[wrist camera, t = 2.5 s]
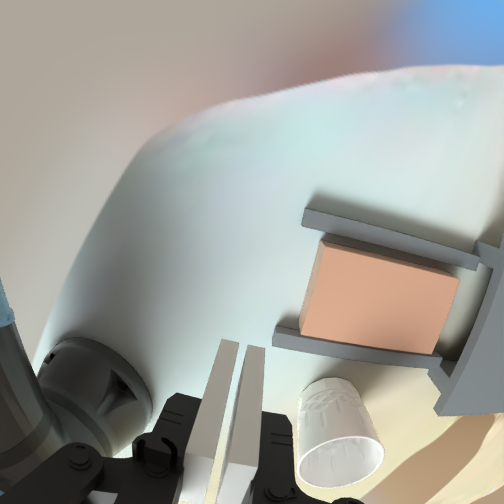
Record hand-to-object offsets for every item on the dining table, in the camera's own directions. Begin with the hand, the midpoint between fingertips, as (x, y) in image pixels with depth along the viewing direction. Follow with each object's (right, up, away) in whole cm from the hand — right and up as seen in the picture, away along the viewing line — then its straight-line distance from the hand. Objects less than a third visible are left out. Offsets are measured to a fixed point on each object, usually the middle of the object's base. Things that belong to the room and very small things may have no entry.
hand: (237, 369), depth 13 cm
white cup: (+9, -11, +19) cm, 24 cm away
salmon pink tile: (+13, +1, +16) cm, 20 cm away
